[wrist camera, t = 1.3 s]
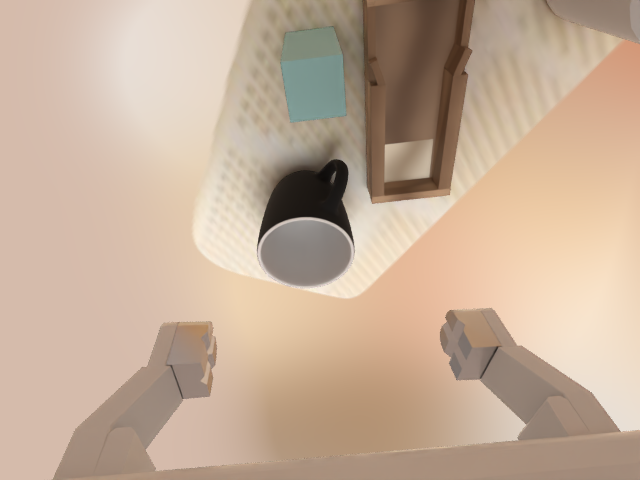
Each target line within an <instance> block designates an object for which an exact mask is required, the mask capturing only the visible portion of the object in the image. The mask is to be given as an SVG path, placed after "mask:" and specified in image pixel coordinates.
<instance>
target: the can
mask: <svg viewBox="0 0 640 480" xmlns="http://www.w3.org/2000/svg"><path fill="white" fill-rule="evenodd" d="M547 4H548V5H549V7H550V8H551V10H552V11H553V13H554V14H555V15H557V16H559V17H561V18H562V19H564V20H567V21H570V22H573V23H576V24H579V25H582V26H585V27H588V28H592V29H595V30H598V31H601V32H604V33H607V34H610V35H613V36H617V37H620V38H623V39H626V40H629V41H632V42H635V43H638V44H640V0H547Z"/></svg>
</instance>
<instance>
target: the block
mask: <svg viewBox="0 0 640 480" xmlns="http://www.w3.org/2000/svg"><path fill="white" fill-rule="evenodd" d="M280 63H281V69H282V75H283V81H284V87H285V92H286V98H287V104H288V110H289V116H290V122H300V121H308V120H316V119H324V118H333V117H341V116H346V101H345V84H344V68H343V54H342V51H341V48H340V45H339V42H338V39H337V36H336V33H335V30H334V27H325V28H318V29H310V30H303V31H295V32H287V33H285V39H284V44H283V50H282V56H281V62H280Z"/></svg>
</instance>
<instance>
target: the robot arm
mask: <svg viewBox="0 0 640 480" xmlns="http://www.w3.org/2000/svg"><path fill="white" fill-rule="evenodd" d="M445 318H446V320H447V322H446V323H445V324H444V325H443V326H442V328H441V331H440V341H441V345H442V348H443V350H444V352H445V353H446V354H447V355H449V356H450V357H451V359H450V362H449V364H450V366H451V369H452V371H453V373H454V375H455V377H456V380H477V379H481V380H480V381H481V382H482V383H483V384H484V385H485V386H486V387H488V388H489V389H490V390H491V391H492V392H493V393H494V394H495V395H496V396H497V397H498V398H499V399H501V401H502V402H503V403H504V404H505V405H506V406H507V407H509V408H510V409H511V410H512V411H513V412H514V413H515V414H516V415H517V416H518V417H519V418H520V419H521V420H522V421H523V422H524V423H525V424H526V426H525V427H524V428H523V430H522V431H521V432H520V434H519V436H518V441H506V442H494V443H483V444H471V445H458V446H447V447H435V448H423V449H411V450H399V451H387V452H375V453H364V454H352V455H340V456H329V457H316V458H306V459H305V458H304V459H292V460H281V461H269V462H257V463H247V464H246V463H245V464H234V465H222V466H211V467H198V468H186V469H175V470H163V471H155V469H156V468H155V466H154V464H153V463H152V461H151V459H150V457H149V455H148V454H147V452H146V448H147V447H148V446H149V444H150V443H151V442H152V440H153V439H154V438H155V436H156V435H157V434H158V433H159V431H160V430H161V429H162V427H163V426H164V425H165V424H166V422H167V421H168V420H169V418H170V417H171V415H172V414H173V413H174V412H175V410H176V409H177V408H178V407H179V405H180V404H181V403H182V401H183V399H188V398H198V397H209V396H210V393H211V387H212V381H213V375H212V370H211V369H212V368H213V367H214V366H215V363H216V354H217V353H216V352H217V345H216V338H215V337H214V336H213V335H212V334H213V325H212V322H175V323H174V322H173V323H163V324H162V326H161V327H160V330H159V333H158V336H157V339H156V342H155V345H154V348H153V351H152V354H151V357H150V360H149V363H148V366H147V367H142V368H141V369H140V370H139V371H138V372H137V373H135V374H134V375H133V376H132V377H131V378H130V379H129V380H128V381H127V382H126V383H125V384H124V385H123V386H121V388H119V389H118V390H117V391H116V392H115V393H114V394H113V395H112V396H111V397H110V398H109V399H108V400H106V401H105V402H104V403H103V404H102V405H101V406H100V407H99V408H98V409H97V410H96V411H95V412H94V413H92V414H91V415H90V416H89V417H88V418H87V419H86V420H85V421H84V422H83V423H82V424H81V425H80V426H78V427H77V428H76V430H75V431H74V433H73V436H72V438H71V440H70V442H69V445H68V447H67V449H66V451H65V453H64V456H63V458H62V460H61V462H60V465H59V467H58V469H57V471H56V473H55V476H54V478H53V480H640V430H635V431H623V432H621V431H620V430H619V429H618V427H617V426H616V424H615V423H614V422H613V421H612V419H611V418H610V416H609V415H608V414H607V412H606V411H605V410H604V408H603V407H602V406H601V404H600V403H599V402H598V401H597V399H596V398H595V396H594V395H593V394H592V393H591V392H590V391H588V390H587V389H585V388H584V387H582V386H581V385H579V384H578V383H576V382H575V381H573V380H572V379H570V378H569V377H567V376H566V375H564V374H563V373H561V372H560V371H559V370H557V369H555V368H554V367H552V366H551V365H550V364H548V363H547V362H545V361H544V360H542V359H541V358H539V357H538V356H536V355H535V354H533V353H532V352H530V351H529V350H527V349H526V348H524V347H523V346H517V345H516V343H515V341H514V340H513V338H512V337H511V335H510V334H509V332H508V331H507V329H506V328H505V326H504V324H503V323H502V322H501V320H500V318H499V317H498V315H497V314H496V312H495V311H494V310H493V309H492V308H486V309H462V310H450V311H448V312H447V314H446V317H445Z"/></svg>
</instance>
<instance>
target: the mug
mask: <svg viewBox="0 0 640 480" xmlns="http://www.w3.org/2000/svg"><path fill="white" fill-rule="evenodd" d="M335 171H336V176H335V180H334V184H332V183H331V182H330V181H331V177H332V175H333V174H334V173H335ZM347 181H348V168H347V165H346V164H345V163H344V162H343V161H341V160H337V159H335V160H332V161H330V162H329V163H328V164H327V165H326V166H325V167H324V168H323V169H322V170H321V171H320V172H319V173H316V172H313V171H298V172H294V173H292V174H290V175H288V176H286V177H285V178H284V179H282V180H281V181H280V182H279V183H278V185H277V186H276V188H275V189H274V191H273V193H272V195H271V197H270V199H269V202H268V204H267V207H266V210H265V214H264V217H263V221H262V224H261V229H260V233H259V239H258V245H257V257H258V261H259V264H260V266H261V267H262V269H263V270H264V272H265V273H266V274H267V275H268V276H270V277H271V278H272V279H274V280H275V281H277V282H279V283H281V284H284V285H287V286H290V287H295V288H316V287H321V286H324V285H327V284H330V283H332V282H334V281H336V280H337V279H339V278H340V277H342V276H343V275H344V274H345V273H346V272H347V271H348V269H349V268H350V266H351V265H352V262H353V259H354V252H355V249H354V241H353V236H352V231H351V227H350V223H349V220H348V216H347V213H346V210H345V207H344V205H343V202H342V200H341V199H342V197H343V194H344V192H345V189H346V185H347Z"/></svg>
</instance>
